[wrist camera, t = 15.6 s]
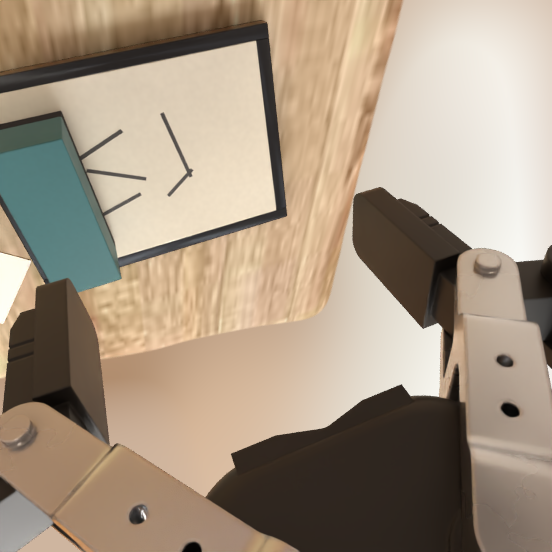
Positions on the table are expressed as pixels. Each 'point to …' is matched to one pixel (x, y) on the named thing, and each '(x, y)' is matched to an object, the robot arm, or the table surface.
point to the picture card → (10, 281)
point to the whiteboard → (166, 135)
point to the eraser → (55, 202)
